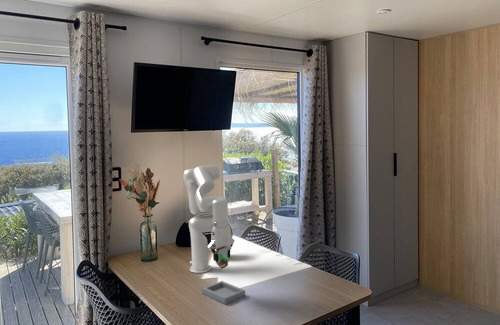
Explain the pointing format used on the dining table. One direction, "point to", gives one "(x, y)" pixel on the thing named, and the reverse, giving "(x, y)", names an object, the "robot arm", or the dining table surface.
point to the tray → (223, 292)
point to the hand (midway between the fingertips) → (222, 258)
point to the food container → (222, 257)
